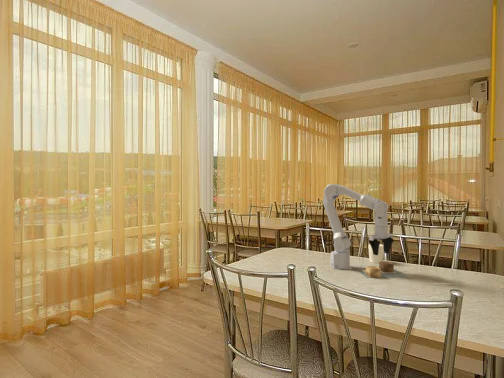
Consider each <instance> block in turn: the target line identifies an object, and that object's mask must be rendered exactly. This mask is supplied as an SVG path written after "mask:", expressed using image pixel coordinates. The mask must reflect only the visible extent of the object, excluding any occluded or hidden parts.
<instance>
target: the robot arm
mask: <svg viewBox="0 0 504 378" xmlns="http://www.w3.org/2000/svg"><path fill="white" fill-rule="evenodd" d="M341 195H345V196H346V197H347V196H348V197H349V198H352V199H354V200H356V201H359V203H360V206H361V205H362V206H364V207H366V208H368V209H370V210H373V211H374V234H373V235H369V236H368V244H370V245H371V247H372V250H373V254H374V255H378V251H379V245H380V244H381V241H382V245H383V246H384V250H383V254H386V255H387V254H389V253H390V249H391V247H392V245H393V242H395V241H394V238H393V237H394V236H393V235H394V234H393V233H388V225H389V224H388V220H389V218H388V217H389V216H388V210H389V206H390V205H389V204H388V203H387V202H386V201H385V200H381V198H375V197H373V196H372V194H370V193H368V194H366V193H365V194H361V193H359V192H357V191H355V190H353V189H351V188H349V187H348V186H345V185H340V184H338V183H334V184H333V183H329V184H327V185H326V186H325V188H324V189H323V198H322V204H323V207H324V208H323V209H324V210H325V213H326V216H327V219H328V222H329V225H330V227H331V230H332V234H333V238H332V240H333V247H334V250H333V251H330V257H329V259H330V264H329V267H331V268H332V269H333V270H353V268H352V267H351V265H350V263H351V259H350V258H351V255H350V253H351V250H350V247H351V246H352V241H351V239H350V238H349V237H348V234H347V233H345V231H344V228H343V227H342V223H341V221H340V217H339V215H338V213H337V209H336V205H335V201H336V199H337V198H338V197H339V196H341ZM379 240H380V241H379Z"/></svg>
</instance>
